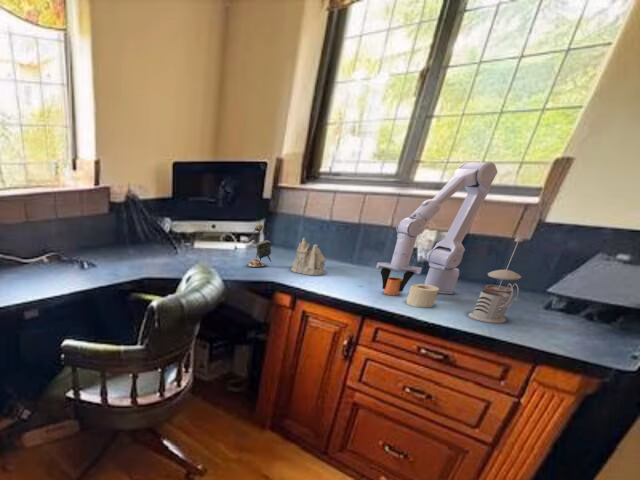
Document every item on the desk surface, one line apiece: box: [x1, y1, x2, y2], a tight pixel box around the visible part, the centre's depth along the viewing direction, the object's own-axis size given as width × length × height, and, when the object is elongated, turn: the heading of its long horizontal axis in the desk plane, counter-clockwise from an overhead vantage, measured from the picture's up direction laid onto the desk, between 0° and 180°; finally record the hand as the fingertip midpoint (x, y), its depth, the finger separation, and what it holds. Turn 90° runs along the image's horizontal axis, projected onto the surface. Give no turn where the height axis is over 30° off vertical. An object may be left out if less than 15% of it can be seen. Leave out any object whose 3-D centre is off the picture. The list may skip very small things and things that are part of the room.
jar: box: [405, 283, 439, 308], centre depth 148 cm, size 8×8×6 cm
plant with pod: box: [247, 222, 272, 268], centre depth 198 cm, size 8×11×20 cm
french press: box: [467, 236, 524, 324], centre depth 129 cm, size 10×12×25 cm
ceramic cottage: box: [290, 237, 327, 276], centre depth 190 cm, size 16×16×15 cm
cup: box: [383, 276, 403, 296], centre depth 159 cm, size 5×5×6 cm
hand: (392, 289), depth 160 cm, fingers closed on cup, 5 cm apart
